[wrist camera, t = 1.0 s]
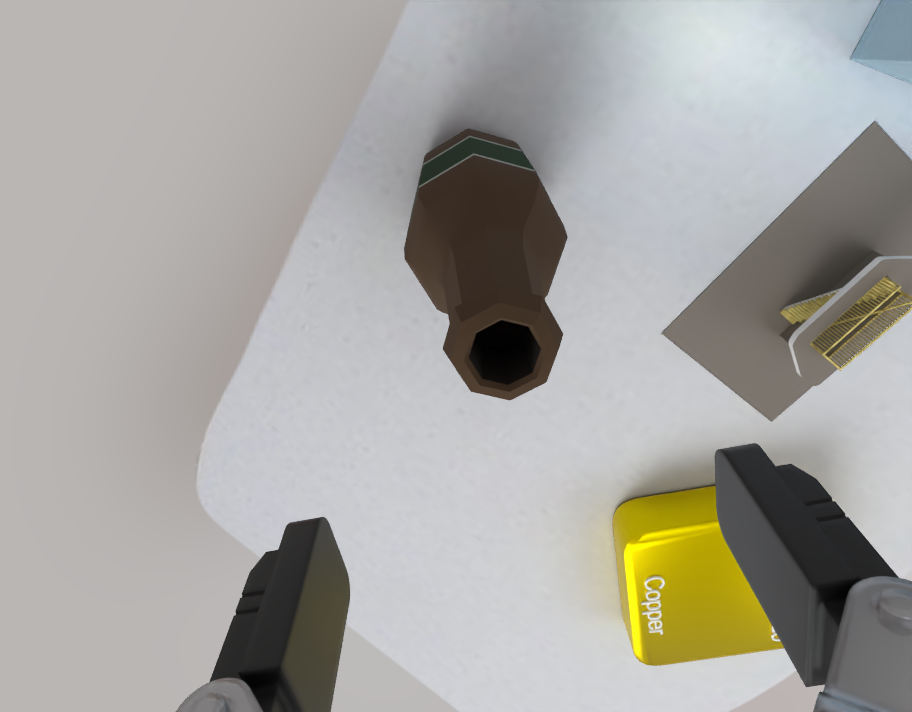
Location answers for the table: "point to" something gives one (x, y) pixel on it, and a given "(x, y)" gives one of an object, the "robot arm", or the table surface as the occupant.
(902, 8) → the case
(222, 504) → the table surface
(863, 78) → the table surface
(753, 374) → the platform
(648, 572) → the element tile
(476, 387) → the beer bottle
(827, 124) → the table surface
